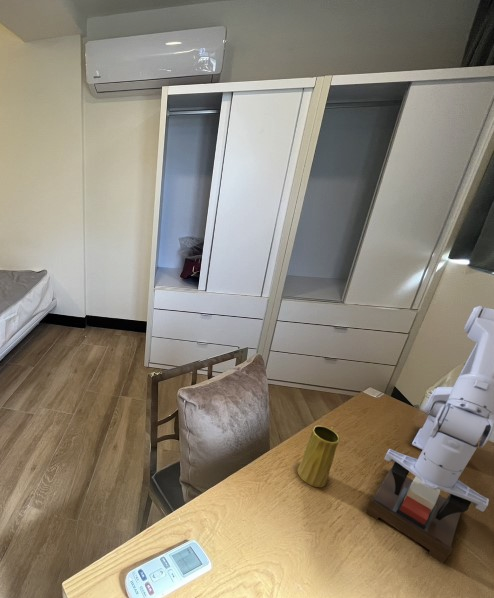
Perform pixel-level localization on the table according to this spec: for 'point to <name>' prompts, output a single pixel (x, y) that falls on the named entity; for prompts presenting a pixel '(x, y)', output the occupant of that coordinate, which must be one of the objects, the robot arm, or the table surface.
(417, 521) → the two-tone white red block
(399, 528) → the dark brown slab
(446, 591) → the table surface
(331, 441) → the vase
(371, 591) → the table surface
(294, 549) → the table surface
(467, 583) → the table surface
